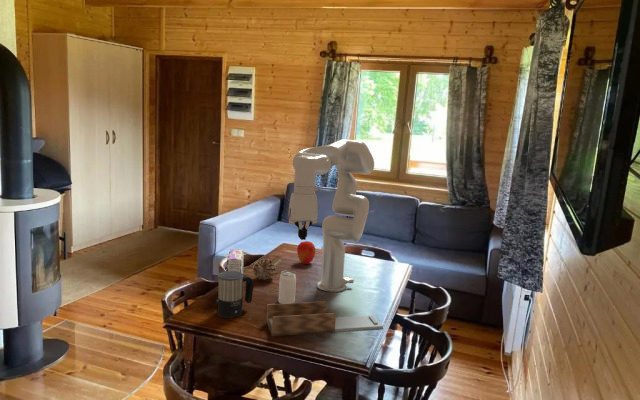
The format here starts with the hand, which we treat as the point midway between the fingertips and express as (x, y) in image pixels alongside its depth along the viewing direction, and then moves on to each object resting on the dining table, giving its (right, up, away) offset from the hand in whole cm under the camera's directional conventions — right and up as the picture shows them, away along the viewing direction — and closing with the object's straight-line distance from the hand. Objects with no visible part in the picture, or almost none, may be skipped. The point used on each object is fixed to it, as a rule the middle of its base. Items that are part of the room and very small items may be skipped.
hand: (302, 238), depth 181 cm
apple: (-1, -17, +64) cm, 66 cm away
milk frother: (-28, -27, +3) cm, 39 cm away
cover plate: (+19, -31, -4) cm, 37 cm away
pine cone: (-17, -21, +40) cm, 48 cm away
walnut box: (0, -30, -9) cm, 32 cm away
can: (-7, -26, +13) cm, 30 cm away
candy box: (-29, -24, +20) cm, 42 cm away
